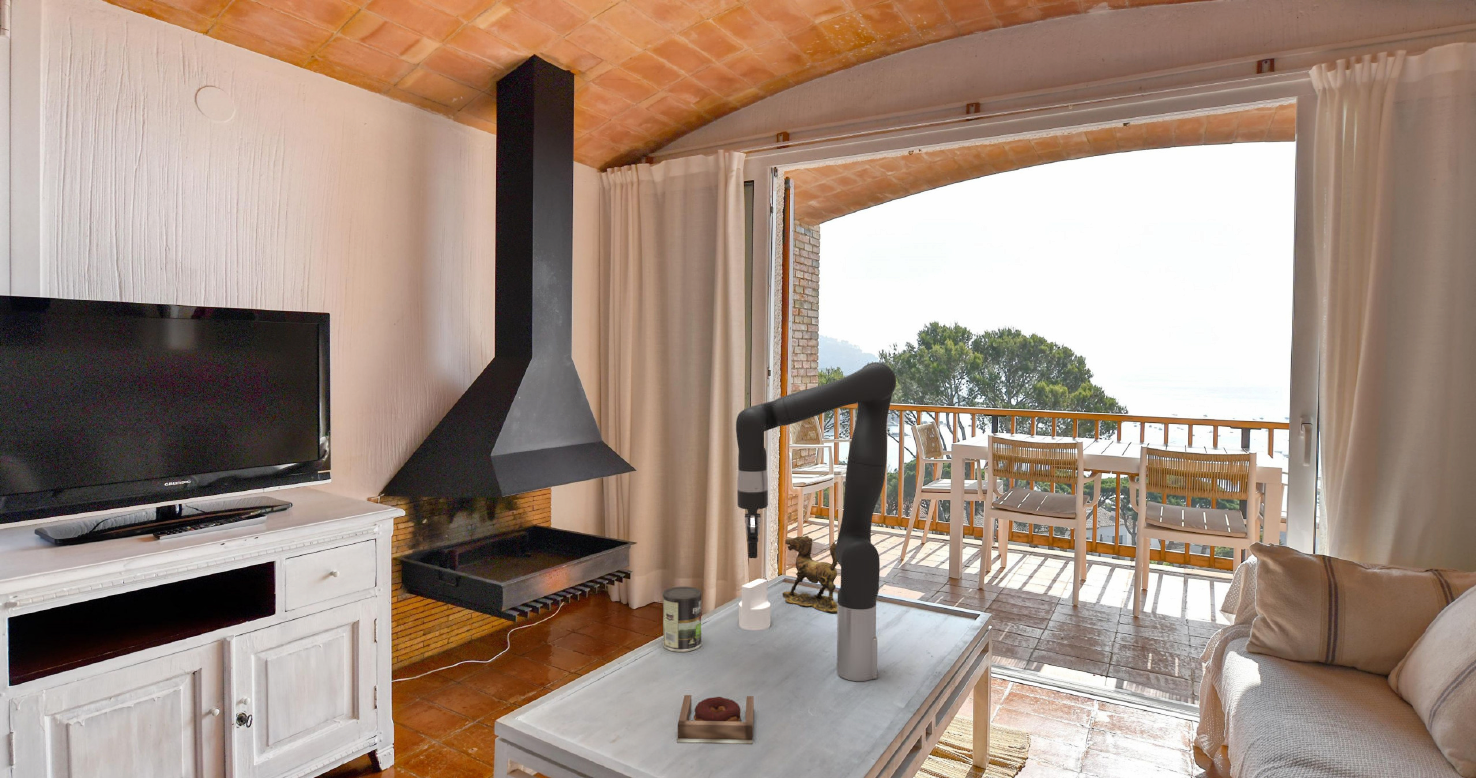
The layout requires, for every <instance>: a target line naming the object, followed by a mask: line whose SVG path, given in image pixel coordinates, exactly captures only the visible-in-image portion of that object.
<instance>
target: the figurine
mask: <svg viewBox="0 0 1476 778" xmlns="http://www.w3.org/2000/svg"><path fill="white" fill-rule="evenodd" d="M784 544H785V545H788V546H787V549H788V551H793V550H794V551H795V552H798V554H797V557H796V558H795V568H796V574H795V575H796V578H795V581H794V583H793V585H792V586H791V590H790V591H783V592H782V597H783V598H784V599H785V603H786V604H789V605H796V606H799V607H800V608H801V607H802V608H812V609H814V610H817V611H820V612H823V613H827V614H832V615H837V601H835V600H834V592H835V589H836V588H837V587H836V584H834V583H835V580H836V578H837V577H838V576H837V575H838V571H837V568H836V567H837V565H838V561H837V559H836V554H835V550H836V544H837V543H836V542H835V541H833V542H832V544H831V545H830V546H829V553H830V556H831V558H832V563H829V562H828V561H827V562H826V561H816V560H813V558H812V557H811V553H812V550H813V548H812V547H813V538H812V537H810V536H809V535H805V536H803V535H802V536H796V537H793V538H790V539H789V538H787V539H785V542H784ZM805 578H806V580H808V582H810V583H812V584H818V583H819V584H820V585H821V586H822V587H821V588H820V589H819V591H818V592H817V594H815V595H813V596H811V595H810V594H808V593H806V592H802V593H798V592H796V590H797V589H796V588H797V586H798V584H799V583H802V582H803V581H804V579H805ZM825 589H826V590H828V595H824V592H825Z"/></svg>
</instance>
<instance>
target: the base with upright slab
mask: <svg viewBox="0 0 1476 778" xmlns="http://www.w3.org/2000/svg"><path fill="white" fill-rule="evenodd" d="M770 626H771V602H769V601H768V579H764V578H757V579H755V580H752V581H750V582H748V583H744V584H743V585H741V601H740V602H738V627H740V628H741V629H744V630H747V631H755V632H756V631H764V630H767V629H769V628H770Z"/></svg>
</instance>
